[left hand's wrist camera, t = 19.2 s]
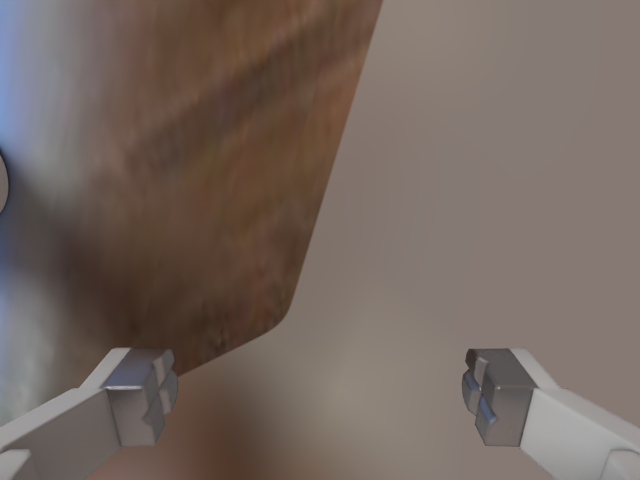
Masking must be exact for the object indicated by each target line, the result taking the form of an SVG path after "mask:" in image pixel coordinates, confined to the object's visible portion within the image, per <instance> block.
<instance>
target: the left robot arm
mask: <svg viewBox="0 0 640 480" xmlns="http://www.w3.org/2000/svg"><path fill="white" fill-rule="evenodd" d="M7 196H8V176H7V171H6V167H5V164H4V162H3V159H2V157H1V155H0V213H1V211H2V210H3V208H4V206H5V203H6V200H7ZM174 362H175V360H174V355H173V351H172V350H171V349H170V348H114V349H112V350H111V351H110V352H109V353H108V354H107V355H106V357H105V358H104V359H103V360H102V361H101V362H100V364H99V365H98V366H97V367H96V368H95V370H94V371H93V372H92V373H91V374H90V376H89V377H88V378H87V379H86V380H85V382H84V383H83V384H82V385H81V386H80V387H79V388H73V389H71V390H69V391H67V392H65V393H63V394H61V395H60V396H58V397H56V398H54V399H52V400H50V401H48V402H46V403H45V404H43V405H41V406H39V407H37V408H35V409H33V410H31V411H30V412H28V413H26V414H24V415H22V416H20V417H18V418H17V419H15V420H13V421H11V422H9V423H7V424H5V425H3V426H2V427H0V480H85V479H86V478H88V477H89V476H90V475H91V474H92V473H93V472H94V471H96V470H97V469H98V468H99V467H100V466H101V465H102V464H104V463H105V462H106V461H107V460H108V459H109V458H110V457H112V456H113V455H114V454H115V453H116V452H117V451H118V450H120V447H128V446H155V444H156V442H157V440H158V438H159V436H160V434H161V432H162V430H163V428H164V425H165V421H164V416H165V415H166V414H168V413H169V412H170V411H172V409H173V406H174V404H175V402H176V397H177V393H178V379H177V374H176V373H175V372H174V371H173V370H172V369H171V367H172V365H173V364H174ZM465 362H466V364H467V365H468V367H469V369H468V370H467V371H466V372H465V373H464V374H463V379H462V392H463V398H464V401H465V404H466V406H467V409H468V411H470V412H471V413H472V414H474V415H475V416H476V421H475V425H476V428H477V430H478V432H479V434H480V436H481V438H482V440H483V442H484V444H485V446H512V447H520V449H521V450H522V451H523V452H524V453H525V454H526V455H527V456H529V457H530V458H531V459H532V460H533V461H534V462H536V463H537V464H538V465H539V466H540V467H541V468H542V469H544V470H545V471H546V472H547V473H548V474H549V475H550V476H551V477H553V478H554V479H555V480H640V427H638V426H636V425H634V424H633V423H631V422H629V421H627V420H625V419H623V418H621V417H620V416H618V415H616V414H614V413H612V412H610V411H608V410H606V409H605V408H603V407H601V406H599V405H597V404H595V403H593V402H592V401H590V400H588V399H586V398H584V397H582V396H580V395H579V394H577V393H575V392H573V391H571V390H569V389H567V388H560V386H559V385H558V384H557V383H556V382H555V380H554V379H553V378H552V377H551V376H550V374H549V373H548V372H547V371H546V370H545V368H544V367H543V366H542V365H541V364H540V363H539V361H538V360H537V359H536V358H535V357H534V355H533V354H532V353H531V352H530V351H529V350H528V349H526V348H524V347H522V348H505V349H469V350H468V352H467V354H466V360H465Z"/></svg>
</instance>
